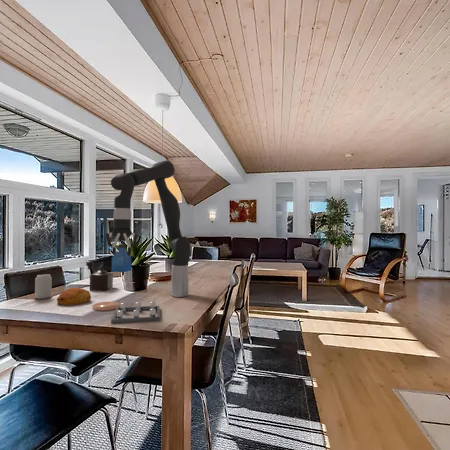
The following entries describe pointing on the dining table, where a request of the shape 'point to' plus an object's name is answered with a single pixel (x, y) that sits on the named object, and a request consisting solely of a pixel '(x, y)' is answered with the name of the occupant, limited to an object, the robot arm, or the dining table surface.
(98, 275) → the black coffee grinder
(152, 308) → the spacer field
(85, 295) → the croissant
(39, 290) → the can
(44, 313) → the dining table surface
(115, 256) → the perfume bottle
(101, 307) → the peach round disc
